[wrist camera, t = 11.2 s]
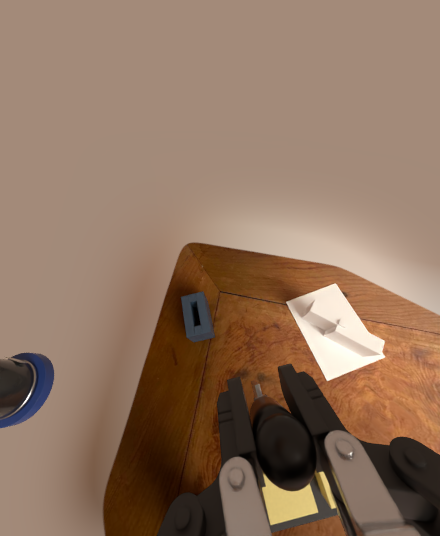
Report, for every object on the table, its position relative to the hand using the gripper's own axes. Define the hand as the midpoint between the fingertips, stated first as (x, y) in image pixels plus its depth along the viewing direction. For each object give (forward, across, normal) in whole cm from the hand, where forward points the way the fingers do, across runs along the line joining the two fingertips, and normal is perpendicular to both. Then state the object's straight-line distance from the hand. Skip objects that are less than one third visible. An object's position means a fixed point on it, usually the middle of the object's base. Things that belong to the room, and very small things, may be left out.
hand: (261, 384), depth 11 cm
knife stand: (+28, +6, +12) cm, 31 cm away
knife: (+9, 0, +12) cm, 15 cm away
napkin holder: (+23, -17, +17) cm, 34 cm away
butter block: (+10, -1, +28) cm, 30 cm away
